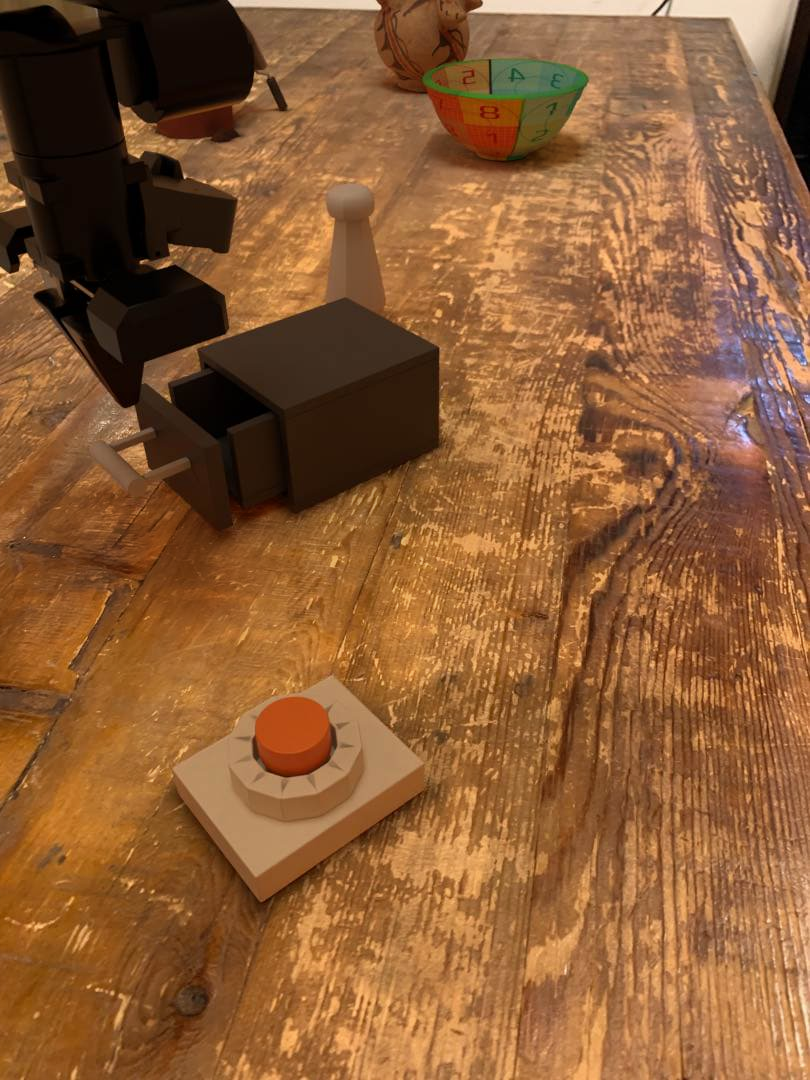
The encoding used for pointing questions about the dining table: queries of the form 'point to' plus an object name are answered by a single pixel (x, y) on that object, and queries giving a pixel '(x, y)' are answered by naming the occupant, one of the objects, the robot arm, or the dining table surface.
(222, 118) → the potted plant
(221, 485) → the dark brown drawer
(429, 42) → the ceramic vessel
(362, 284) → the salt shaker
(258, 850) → the control block
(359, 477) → the drawer cabinet
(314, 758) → the button
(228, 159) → the dining table surface
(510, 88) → the bowl
